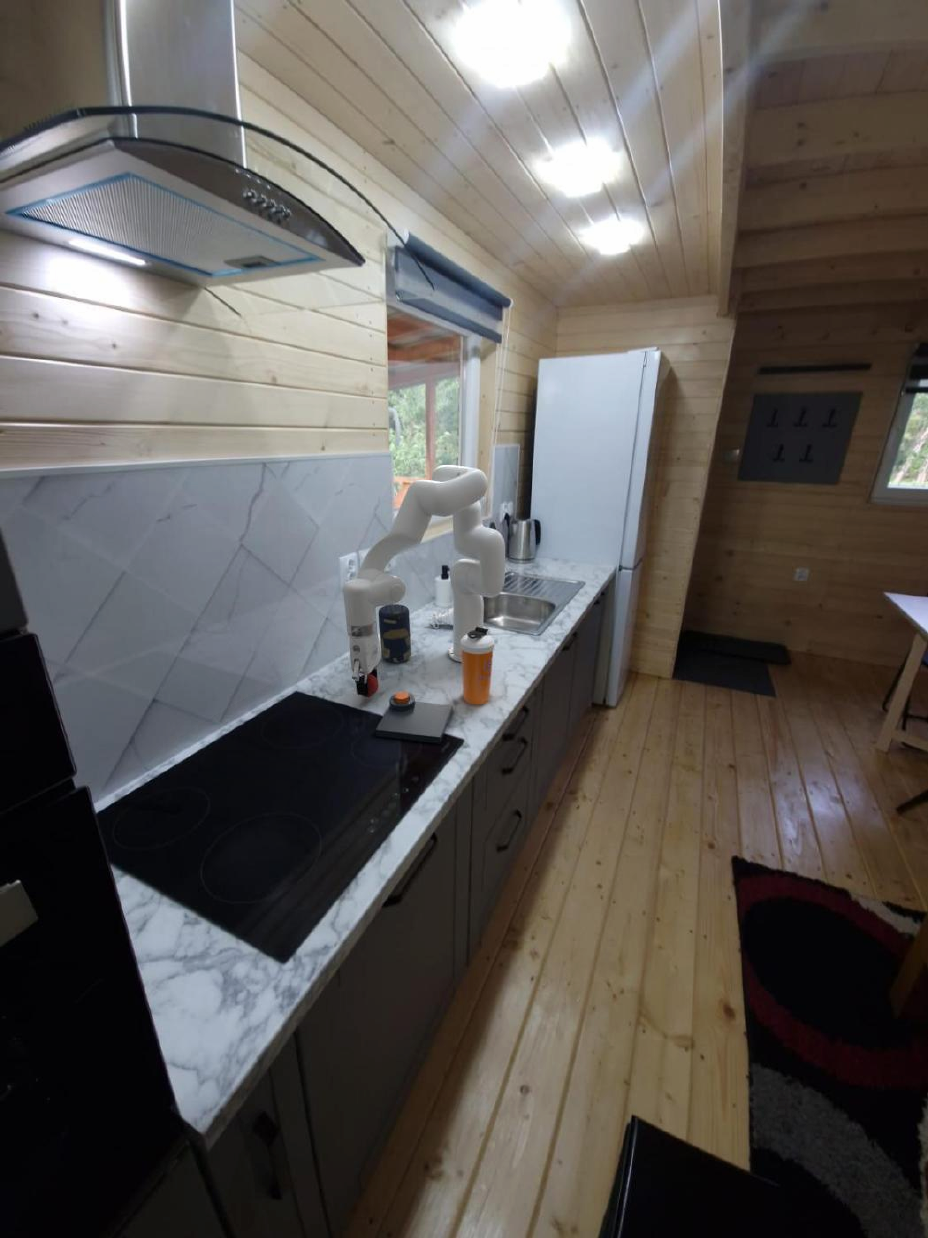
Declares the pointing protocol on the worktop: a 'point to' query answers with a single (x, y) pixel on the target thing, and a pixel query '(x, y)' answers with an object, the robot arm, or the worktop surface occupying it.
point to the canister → (395, 633)
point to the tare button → (401, 697)
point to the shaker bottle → (477, 665)
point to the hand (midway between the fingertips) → (367, 687)
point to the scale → (415, 721)
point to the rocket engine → (442, 618)
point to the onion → (372, 684)
